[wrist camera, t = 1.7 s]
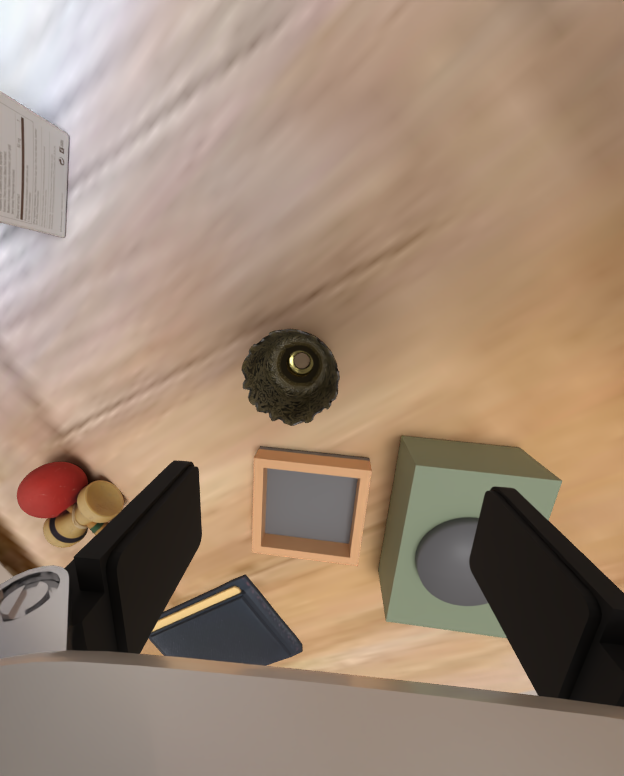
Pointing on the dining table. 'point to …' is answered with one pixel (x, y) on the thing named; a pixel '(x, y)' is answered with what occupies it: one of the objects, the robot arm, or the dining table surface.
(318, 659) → the dining table surface
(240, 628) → the wallet
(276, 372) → the dark bronze domed piece
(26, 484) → the kendama
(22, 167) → the supplement box
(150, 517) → the robot arm
